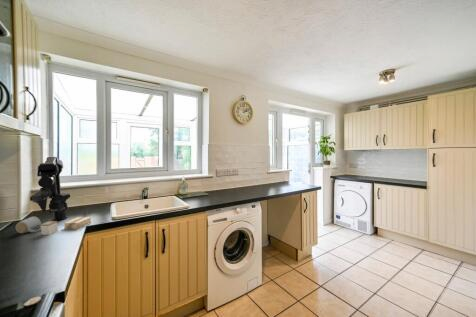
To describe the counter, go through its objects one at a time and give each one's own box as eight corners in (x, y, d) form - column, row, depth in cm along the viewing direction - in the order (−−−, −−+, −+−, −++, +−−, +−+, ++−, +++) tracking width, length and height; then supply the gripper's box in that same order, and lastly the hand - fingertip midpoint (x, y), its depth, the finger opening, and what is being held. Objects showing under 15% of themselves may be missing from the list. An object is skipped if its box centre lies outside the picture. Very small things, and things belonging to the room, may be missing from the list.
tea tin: (41, 234, 111) (40, 224, 111) (50, 230, 116) (49, 221, 115) (49, 234, 111) (48, 224, 110) (57, 231, 115) (57, 221, 115)
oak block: (64, 229, 118) (64, 222, 118) (78, 223, 127) (77, 217, 127) (78, 229, 118) (78, 222, 117) (90, 223, 127) (90, 217, 126)
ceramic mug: (14, 234, 112) (13, 221, 112) (29, 228, 120) (28, 216, 120) (32, 234, 112) (31, 221, 112) (46, 228, 120) (45, 216, 120)
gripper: (17, 188, 105) (20, 216, 106) (51, 187, 104) (54, 216, 105) (39, 184, 116) (41, 210, 117) (69, 183, 115) (72, 209, 116)
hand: (51, 211), depth 114 cm, fingers open, 9 cm apart
